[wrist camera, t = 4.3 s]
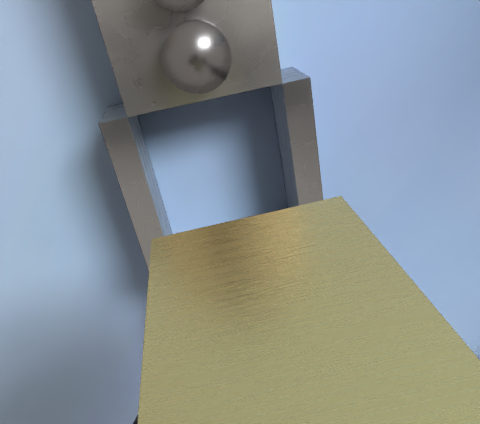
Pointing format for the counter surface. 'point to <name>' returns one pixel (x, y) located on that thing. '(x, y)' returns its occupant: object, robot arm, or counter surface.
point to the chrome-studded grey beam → (198, 89)
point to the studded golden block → (296, 328)
